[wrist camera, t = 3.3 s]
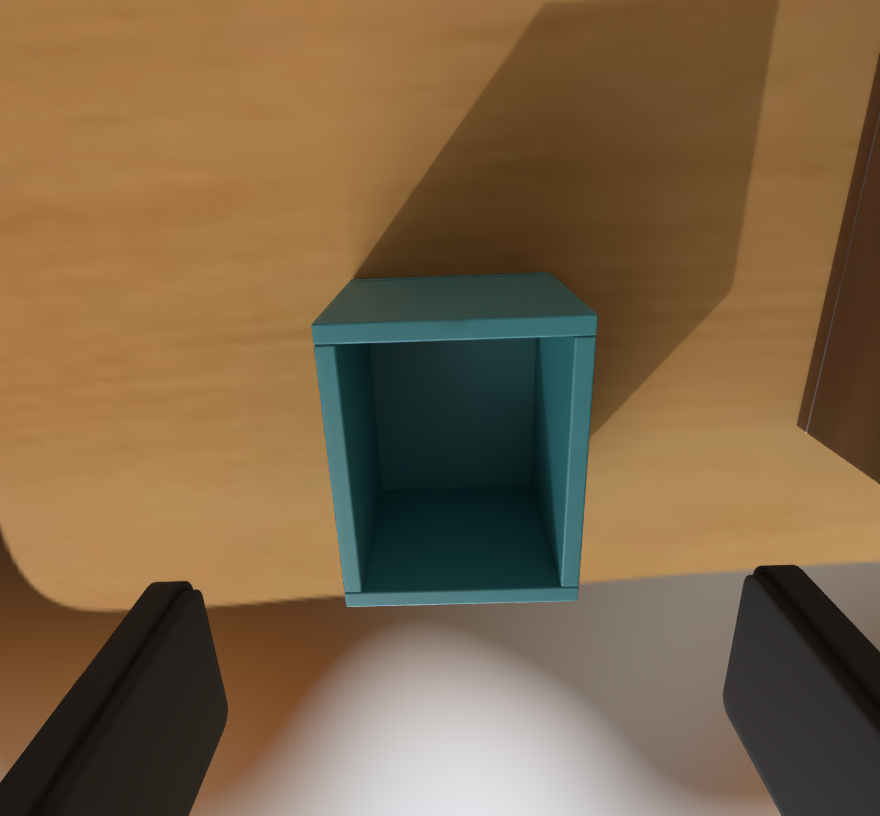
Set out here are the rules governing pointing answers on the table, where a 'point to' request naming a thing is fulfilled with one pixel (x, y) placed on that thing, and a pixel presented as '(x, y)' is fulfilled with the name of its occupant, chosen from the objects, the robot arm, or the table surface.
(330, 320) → the box
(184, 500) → the table surface
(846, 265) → the crate
